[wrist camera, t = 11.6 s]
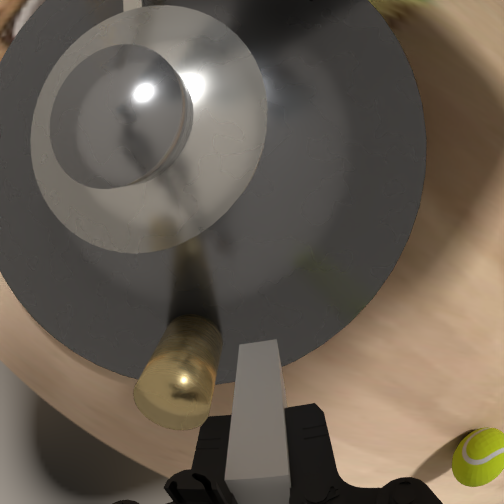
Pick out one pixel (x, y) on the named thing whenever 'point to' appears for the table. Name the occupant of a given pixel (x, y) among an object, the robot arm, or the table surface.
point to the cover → (149, 128)
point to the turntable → (239, 214)
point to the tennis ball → (479, 457)
